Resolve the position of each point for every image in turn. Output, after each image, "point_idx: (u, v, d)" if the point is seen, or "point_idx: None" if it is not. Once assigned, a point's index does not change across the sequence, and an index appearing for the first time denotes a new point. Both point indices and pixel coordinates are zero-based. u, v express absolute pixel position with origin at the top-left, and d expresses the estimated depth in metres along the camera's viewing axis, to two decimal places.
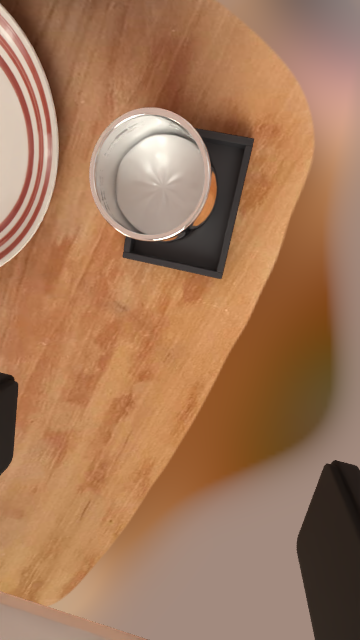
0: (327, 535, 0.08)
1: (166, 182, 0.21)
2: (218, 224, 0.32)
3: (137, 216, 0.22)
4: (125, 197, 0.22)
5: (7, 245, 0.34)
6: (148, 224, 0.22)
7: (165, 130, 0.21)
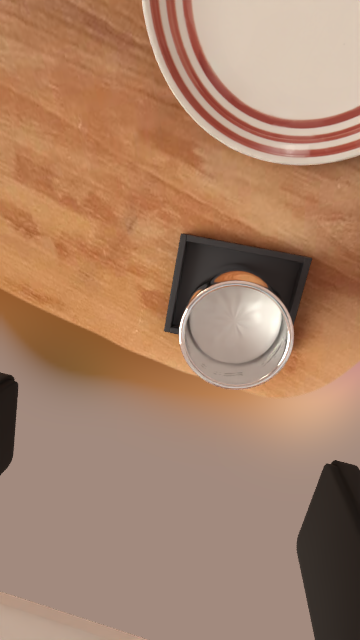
0: (327, 535, 0.08)
1: (239, 324, 0.23)
2: None
3: (209, 295, 0.23)
4: None
5: (190, 88, 0.28)
6: (201, 305, 0.23)
7: (284, 322, 0.23)
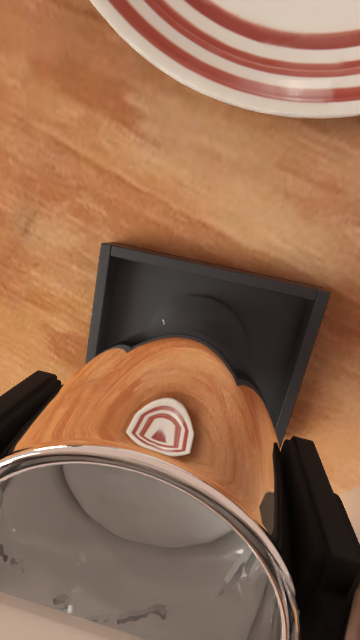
0: None
1: None
2: None
3: None
4: None
5: None
6: None
7: None
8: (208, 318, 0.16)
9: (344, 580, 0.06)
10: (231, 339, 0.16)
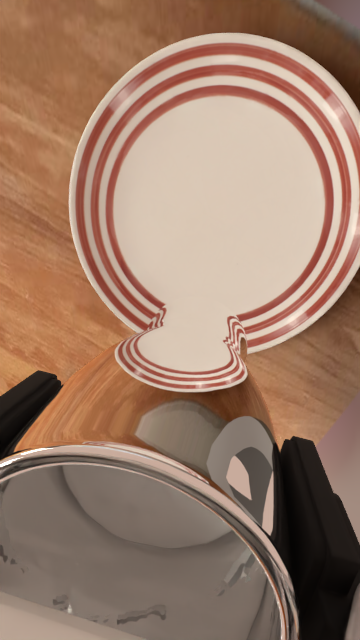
0: None
1: None
2: None
3: None
4: None
5: (112, 289, 0.34)
6: None
7: None
8: (208, 318, 0.16)
9: (344, 580, 0.06)
10: (231, 339, 0.16)
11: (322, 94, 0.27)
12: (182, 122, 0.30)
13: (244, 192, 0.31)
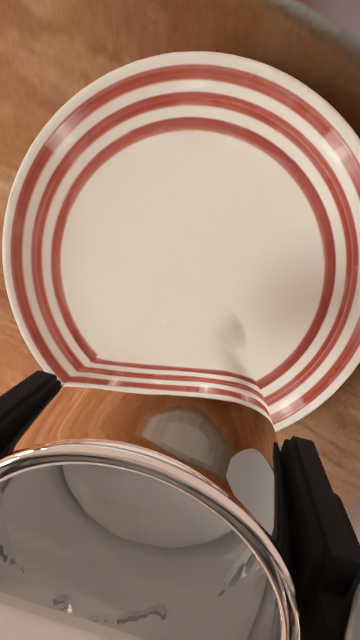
0: None
1: None
2: None
3: None
4: None
5: (63, 364, 0.28)
6: None
7: None
8: (208, 318, 0.16)
9: (344, 580, 0.06)
10: (231, 339, 0.16)
11: (319, 129, 0.21)
12: (141, 163, 0.24)
13: (223, 248, 0.25)
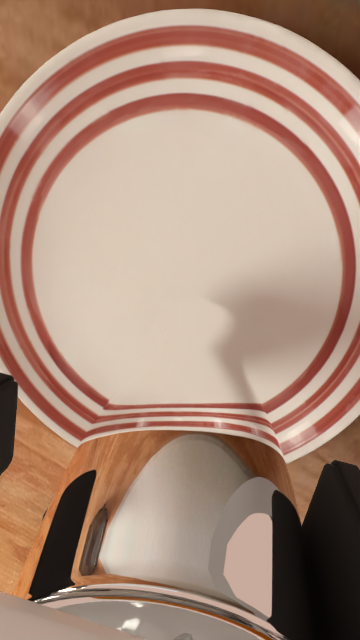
0: (327, 535, 0.08)
1: None
2: None
3: None
4: None
5: (37, 385, 0.24)
6: None
7: None
8: (212, 331, 0.16)
9: None
10: (236, 353, 0.16)
11: (339, 106, 0.17)
12: (125, 149, 0.20)
13: (221, 250, 0.21)
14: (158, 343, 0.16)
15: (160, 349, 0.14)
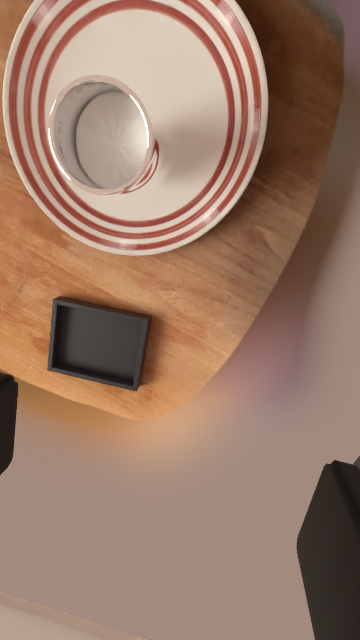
0: (327, 535, 0.08)
1: (120, 147, 0.24)
2: (87, 364, 0.45)
3: (90, 117, 0.24)
4: (105, 103, 0.23)
5: (48, 197, 0.38)
6: (84, 129, 0.24)
7: None
8: None
9: None
10: None
11: (214, 1, 0.31)
12: (99, 36, 0.34)
13: (159, 100, 0.35)
14: None
15: None
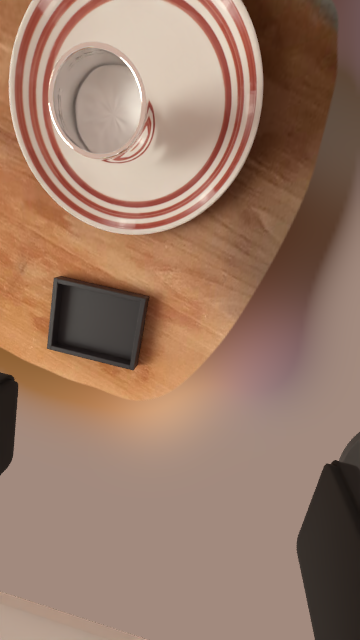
0: (327, 535, 0.08)
1: (117, 117, 0.25)
2: (86, 343, 0.46)
3: (89, 88, 0.25)
4: (103, 75, 0.25)
5: (51, 177, 0.39)
6: (83, 100, 0.25)
7: None
8: None
9: None
10: None
11: None
12: (102, 22, 0.35)
13: (158, 84, 0.36)
14: None
15: None
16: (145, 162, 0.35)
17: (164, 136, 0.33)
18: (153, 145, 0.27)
